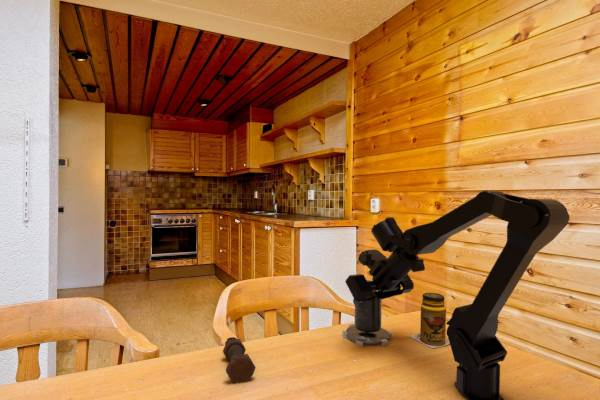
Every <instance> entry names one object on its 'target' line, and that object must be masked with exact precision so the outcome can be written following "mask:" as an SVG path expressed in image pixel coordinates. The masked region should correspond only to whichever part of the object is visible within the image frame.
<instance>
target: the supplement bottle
mask: <svg viewBox="0 0 600 400" xmlns="http://www.w3.org/2000/svg"><path fill="white" fill-rule="evenodd" d="M366 280H367V282H369V281H371V280H368V279H366ZM382 300H383V299H382V298H381V295H380V294H379V293H378V292H377V291H373V292H372V296H371V300H370V301H367V302H364V303H361V304H358V305H354V324H355V327H356V329H358V330H359V331H363V332H377V331H379V330H380V329H381V328H382V303H383V302H382Z"/></svg>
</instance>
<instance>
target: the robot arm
mask: <svg viewBox="0 0 600 400" xmlns="http://www.w3.org/2000/svg"><path fill="white" fill-rule="evenodd" d="M491 216H493V217H496V218H497V219H498V220H501V221H504V222H507V226H506V242H505V245H504V247H503V248H502V250H501V252H500V254H499V255H498V257H497V259H496V261H495V262H494V263H493V266H492V267H491V269H490V271H489V273H488V275H487V277H486V278H485V280H484V282H483V283H482V285H481V287H480V289H479V290H478V292H477V294H476V296H475V297H474V299H473V301H472V302H471V303H470V304H467V305H465V304H464V305H462V306H458V307H457V306H456V307H455V308H454V309H453V312H452V313H451V314H452V315H451V317H450V319H449V320H447V321H446V326H447V325H448V326H447V328H446V332H445V335H446V336H447V339H448V341H449V342H450V344H449V345H450V348H451V352H452V353H451V354H452V356H453V360H454V362H456V363H458V365H457V366H456V378H455V379H456V381H455V382H454V386H455V388H457V389H458V390H459V392H460V393H461V394H462V396H463V397H464V398H465V399H466V400H505V398H504V397H503V396H502V395H501V394H500V393H501V389H500V386H501V364H500V362H503V361H505V360H506V359H505V358H506V357H507V355H508V351H507V349H506V348H505V347H504V345H503V344H502V342H501V341H500V340H499V339H498V337H497V331H498V328H499V314H500V313H501V311H502V310H503V308H504V307H505V305H506V303H507V301H508V300H509V299H510V297H511V295H512V294H513V292H514V291H515V288H516V287H517V285H518V283H520V280H521V279H522V277H524V274H525V273H526V271H527V269H528V267H529V266H530V264H531V263H532V261H533V260H534V257H535V256H536V255H537V254H538V253H539V252H540V251H541V250H542V249H544V247H546V246H547V245H549V244H550V243H551V242H552V241H554V239H556V237H557V236H559V234H560V233H561V232H562V231H563V230H564V229H565V228H566V227H567V226H568V224H569V222H570V221H569V220H570V214H569V212H568V209H567V207H566V206H565V205H564V204H563V203H562V202H561V201H559V200H556V199H553V198H526V197H522V196H519V195H513V194H509V193H505V192H503V191H501V190H482V191H480V192H479V193H477V194H476V196H474V197H473V198H471V199H469V200H467V201H466V202H464V203H462V204H460V205H459V206H457V207H455V208H454V209H452V210H450V211H449V212H447V213H445V214H443V215H442V216H440V217H439V218H437V219H435V220H433V221H432V222H428V223H425V224H421V225H415V226H413V227H411V228H408V229H406V230H405V231H403V230H402V229H401V227H400V226H399V225H398V223H397V221H396V219H395V218H394V217H393V216H392V217H389V216H387V217H386V218H385V219H384V220H382V221H379V222H377V224H375V225H373V226H372V228H371V231H370V232H371V233H372V235H373V237H374V239H375V241H376V242H377V243H378V245H379V246H380V248H381V249H382V251H383V252H389V253H390V255H389V256H388V257H387V256H385V255H384V254H383V252H381V251H380V250H378V249H365V250H364V251H363V250H362V251H361V252H360V253H359V254H358V258H357V259H358V260H357V261H358V263H360V264H361V265H362V266H365V267H367V268H368V269H369V271H368V273H369V275H370V276H372V278H371V280H370V281H369V282H367V280H368V279H367V278H366V277H365V275H364V274H362V273H358V274H357V273H356V274H350V275H348V276H347V278H346V279H345V285H346V286H347V288H348V290H349V292H350V293H351V296H352V298H353V299H352V302H353V304H354V306H355V305H358V304H361V303H364V302H367V301H370V300H371V296H372V292H373V291H377V292H378V293H379V294H380V295H381V298H382V300H384V299H385V300H386V299H389V298H392V297H397V296H400V295H403V294H406V293H407V294H409V293H411V291H413V289H414V285H415V283H414V281H413V280H412V278H411V277H410V275H409V273H410V272H411V271H412V273H417V272H424V271H425V270H426V267H425V263H424V262H425V261H424V259H422V258H420V257H419V255H426V254H433V253H435V252H437V251H438V250H439V249H440V248H441V247H443V246H444V245H445V243H446V242H447V240H448V239H450V238H451V237H452V236H455V235H456V234H458V233H460V232H463V231H464V230H466V229H468V228H470V227H471V226H473V225H475V224H477V223H479V222H481V221H483V220H485V219H486V218H488V217H491ZM401 288H402V289H401Z"/></svg>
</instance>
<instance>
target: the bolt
mask: <svg viewBox="0 0 600 400" xmlns="http://www.w3.org/2000/svg"><path fill="white" fill-rule="evenodd" d="M246 350H247V349H246V347H245V345H244V343H243V342H242V340H241V339H240V338H237V337H234V336H233V337H228V338H227V339H226V340H225V342H224V347H223V349H222V353H223V355H224V356H225V358H226V359H227V361H228V364H227V366H226V368H225V373H226V374H227V376H228V378H229V379H230V380H231V382H232V384H243V383H247V382H250V380H251V379H252V378H253V375H254V374H255V371H256V365H255V364H254V362H253V360H252V359H251V357H250V356H249V353H245V352H246Z"/></svg>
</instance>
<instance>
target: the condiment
mask: <svg viewBox="0 0 600 400" xmlns="http://www.w3.org/2000/svg"><path fill="white" fill-rule="evenodd" d="M421 302H422V303H421V305H420V324H419V325H420V328H419V329H420V330H419V331H420V332H419V333H416V334H412V335H408V337H410V338H411V339H413V340H415V341H418V342H419V343H420V344H423V345H425V346H427V347H429V348H430V349H435V348H441V347H445V346H448V345H450V342H449V339H448V340H447V339H446V338H447V337H446V336H447V335H446V333H447V328H446V327H447V324H446V322H447V309H446V306H445V303H446V302H445V296H444V295H442V294H441V293H436V292H424V293H423V294H422V300H421ZM419 337H420V338H419Z"/></svg>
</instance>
